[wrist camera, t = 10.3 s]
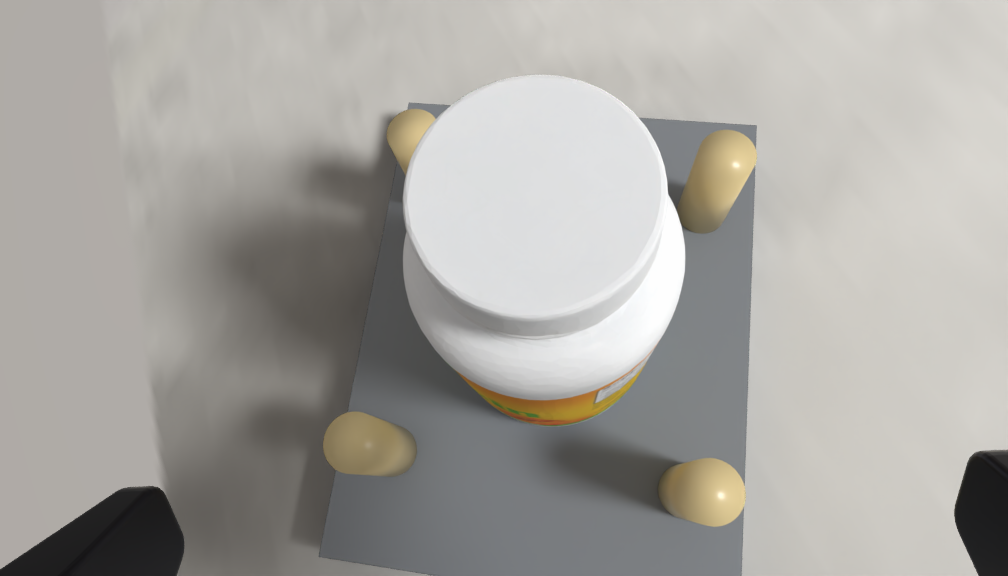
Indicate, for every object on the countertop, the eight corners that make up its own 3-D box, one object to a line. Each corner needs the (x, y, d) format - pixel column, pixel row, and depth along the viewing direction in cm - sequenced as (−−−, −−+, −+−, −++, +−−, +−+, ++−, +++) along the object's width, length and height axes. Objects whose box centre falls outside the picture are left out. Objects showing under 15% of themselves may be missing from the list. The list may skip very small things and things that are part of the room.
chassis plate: (728, 616, 18) (782, 659, 13) (333, 552, 19) (260, 572, 15) (746, 145, 21) (792, 54, 17) (417, 121, 23) (379, 32, 18)
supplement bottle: (421, 342, 19) (281, 210, 10) (542, 210, 20) (515, -24, 11) (562, 470, 18) (549, 454, 9) (687, 323, 19) (797, 163, 9)
